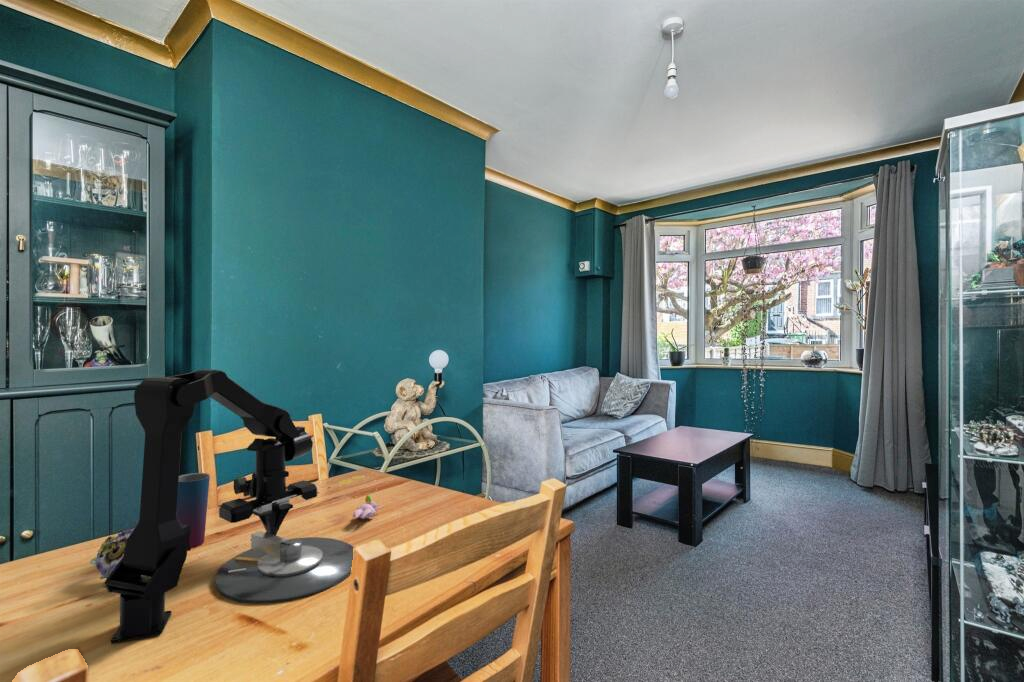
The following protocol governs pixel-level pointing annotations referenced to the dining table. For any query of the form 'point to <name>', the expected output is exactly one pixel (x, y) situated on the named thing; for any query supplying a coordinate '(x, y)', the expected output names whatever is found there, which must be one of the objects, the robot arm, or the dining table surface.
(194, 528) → the cup
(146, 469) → the robot arm
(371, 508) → the purple flower
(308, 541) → the dial plate
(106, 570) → the passion flower
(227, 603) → the dining table surface
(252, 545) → the dial
